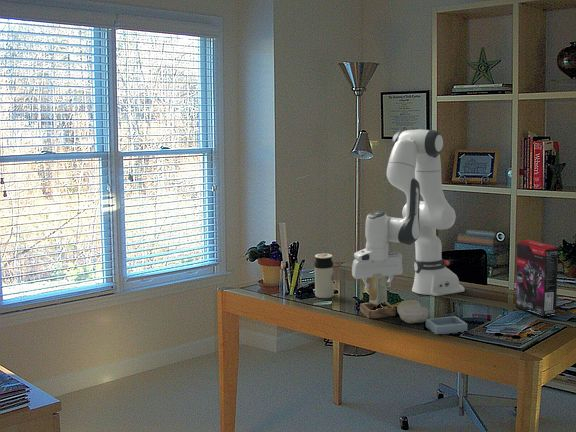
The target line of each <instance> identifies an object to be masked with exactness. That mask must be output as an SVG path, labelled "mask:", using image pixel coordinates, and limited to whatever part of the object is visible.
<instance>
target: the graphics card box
mask: <svg viewBox="0 0 576 432" xmlns="http://www.w3.org/2000/svg"><path fill="white" fill-rule="evenodd" d="M558 261H559V246H554V245H551V244H547V243H542V242H540V241H536V240H532V239H524V240H523V239H522V240H519V241H517V242H516V274H515V280H516V281H515V305H514V306H515V307H514V308H517V309H520V310H522V311H525V310H531V311H535V312H537V313H539V314H540V315H542V316H547V315H551V314H556V315H557V292H558V265H559V262H558Z"/></svg>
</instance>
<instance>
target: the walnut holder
mask: <svg viewBox="0 0 576 432" xmlns="http://www.w3.org/2000/svg"><path fill="white" fill-rule="evenodd" d="M385 304H386V305H387V307H388V309H378V310H371V309H373V308H374V307H376V306H378V305H376V304H372V303H369V302H365V303H362V302H361V303H360V304H359V311H360V312H361V313H362V314H363V315H364V316H365V315H366V318H368V319H369V318H371V319H379V318H380V319H381V318H387V317H396V316H397V315H396V314H397V313H396V312H397V311H396V310H397V307H394V306H393V305H392V304H390V303H389V302H388V301H386V302H385Z"/></svg>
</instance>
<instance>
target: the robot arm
mask: <svg viewBox="0 0 576 432" xmlns="http://www.w3.org/2000/svg"><path fill="white" fill-rule="evenodd" d="M392 136H393V137H392V139H391V148H392V149H391V152H390V154H389V155H390V156H389V157H388V162H387V167H386V178H387V180H388V183H389V184H391V186H393V187H394V188H396V189H398V190H400V191H402V192H403V193H404V195H405V196H406V203H405V204H404V206H403V207H402V212H401V213H402V217H394V216H389V215H387V213H386V212H385V211H381V210H376V211H371V212H369V213H368V214H366V215H367V216H366V218H365V229H364V230H365V233H364V234H365V239H366V243H365V248H363V249H361V250H358V251H355V252H354V254H353V257H354V260H353V261H352V265H351V275H352V277H353V278H354V279H356V280H362V281H363V283H364V287H365V289H367V290H368V289H370V284H369V282H367V281H368V279H369V278H372V277H373V275H374V274H382V276H387V277H388V279H387V287H388V288H389V287H391V285H392V284H391V282H393V280H394V276H398V275H399V276H401V275H402V274H403V272H404V268H403V262H402V260H403V254H402V252H400V251H397V250H396V251H389V243H388V242H393V243H398V244H399V243H400V244H404V245H407V246H410V245H412V244H414V246H415V248H414V249H415V250H414V251H415V258H414V263H413V266H414V269H413V270H414V281H413V285H412V288H411V291H412V292H413V293H416V294H419V295H424V296H427V295H428V296H434V297H440V296H445V295H450V294H459V293H462V292H465V291H466V290H465V287H464V286H463V285H461V284H460V280H459V277H458V276H457V274H456V273H454V272H453V271H452V270H450V268H448V267H447V266H449V265H450V261H449V260H447V259H444V258H442V241H441V239H440V238H439V237H438V236H437V235H436V233H435V232H434V229H435V230H448V229H450V228H452V227H453V226H454V224H455V222H456V218H457V216H456V211H455V209H454V208H453V207H452V206H451V205H450V204H449V202H448V201H447V198H446V197H445V193H444V191H443V185H442V183H443V182H442V162H441V156H440V155H441V152H442V151H443V149H444V145H445V143H444V137H443V135H442V134H441V132H440V131H437V130H434V129H430V130H429V129H418V128H417V129H407V130H406V129H402V130H398V131H396V132H395V133H394V135H392ZM421 197H422V199H423V200H421V199H420V198H421Z"/></svg>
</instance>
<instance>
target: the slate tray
mask: <svg viewBox="0 0 576 432" xmlns="http://www.w3.org/2000/svg"><path fill="white" fill-rule="evenodd" d="M425 328H427V330H429V329H430V330H431V331H430V330H429V331H430V332H431V333H433V332H434V333H433V334H434V335H436V334H437V335H436V336H439V335H438V334H443V335H449V334H450V333H452V334H459V333H458V332H461V333H465V332H464V331H467V332H468V323H467V322H466V321H464V320H463V319H461V318H459V317H458V316H457V315H452V316H445V317H443V316H442V317H433V318H427V319H426V320H425Z"/></svg>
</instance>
